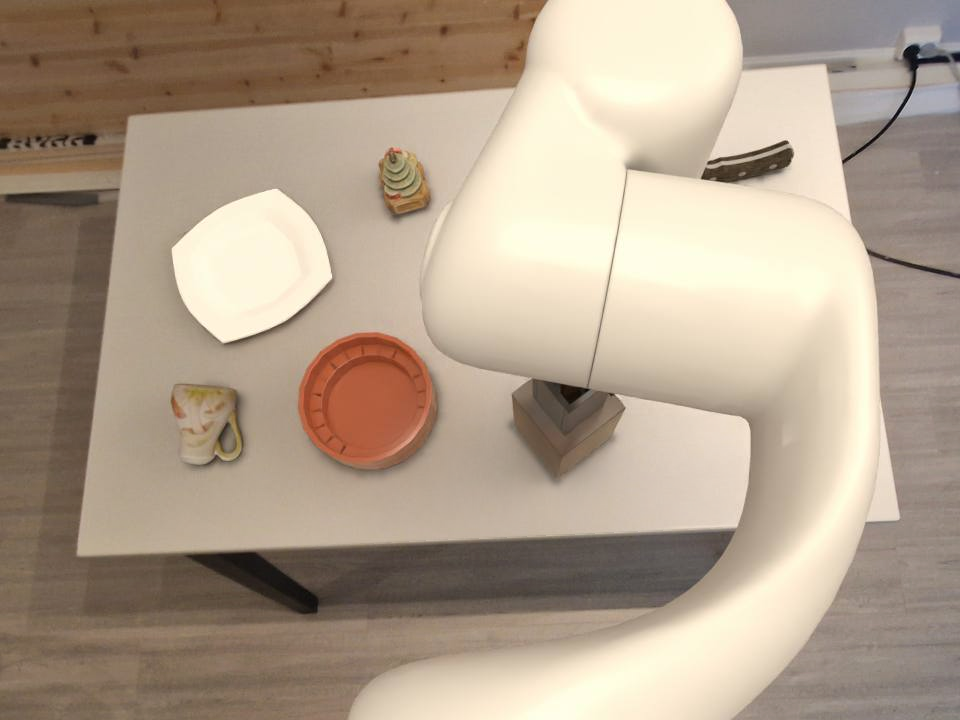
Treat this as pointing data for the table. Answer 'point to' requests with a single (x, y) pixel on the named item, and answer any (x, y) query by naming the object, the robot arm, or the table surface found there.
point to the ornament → (403, 181)
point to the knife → (749, 163)
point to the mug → (204, 421)
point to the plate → (250, 265)
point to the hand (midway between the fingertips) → (581, 330)
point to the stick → (570, 392)
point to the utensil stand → (564, 422)
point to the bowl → (368, 401)
